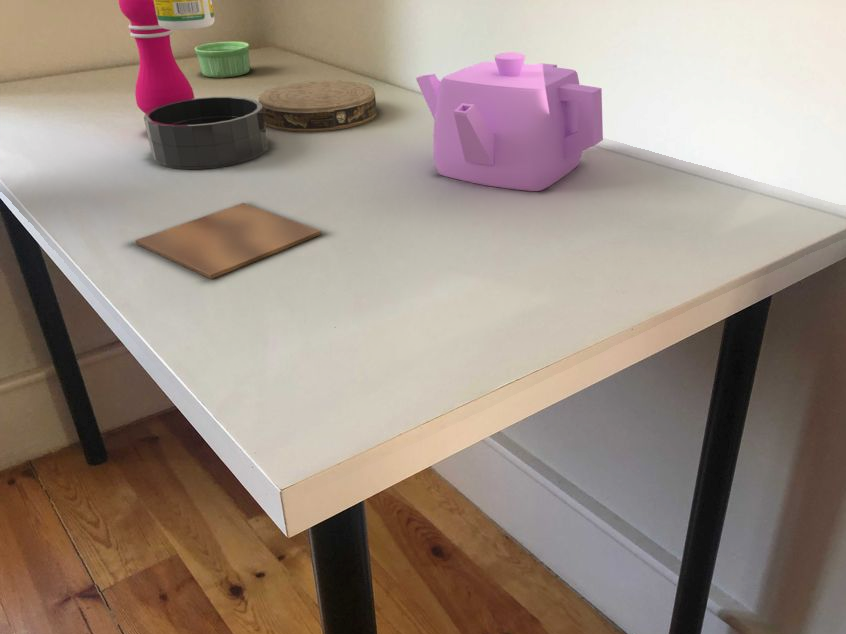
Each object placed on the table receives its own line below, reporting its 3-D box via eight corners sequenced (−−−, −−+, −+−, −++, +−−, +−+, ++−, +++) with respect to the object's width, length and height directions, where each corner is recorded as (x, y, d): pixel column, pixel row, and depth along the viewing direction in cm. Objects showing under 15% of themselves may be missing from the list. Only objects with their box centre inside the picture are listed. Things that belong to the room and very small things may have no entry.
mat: (211, 279, 66) (210, 275, 66) (136, 244, 73) (135, 240, 73) (321, 234, 74) (320, 230, 74) (244, 206, 81) (243, 202, 81)
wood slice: (243, 114, 112) (239, 92, 111) (342, 96, 120) (339, 75, 119) (293, 139, 101) (290, 115, 100) (398, 117, 109) (397, 94, 108)
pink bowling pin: (203, 135, 104) (170, -34, 93) (145, 142, 101) (104, -31, 91) (197, 121, 109) (166, -39, 99) (142, 128, 107) (104, -36, 97)
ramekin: (239, 65, 142) (234, 39, 139) (262, 73, 136) (258, 46, 133) (191, 73, 137) (185, 46, 135) (213, 81, 131) (208, 53, 129)
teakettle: (609, 184, 84) (618, 63, 78) (454, 203, 80) (450, 77, 74) (552, 140, 98) (556, 34, 92) (418, 154, 94) (412, 45, 88)
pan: (195, 177, 89) (185, 132, 87) (132, 155, 97) (121, 113, 94) (290, 148, 98) (285, 107, 95) (225, 129, 106) (219, 91, 103)
